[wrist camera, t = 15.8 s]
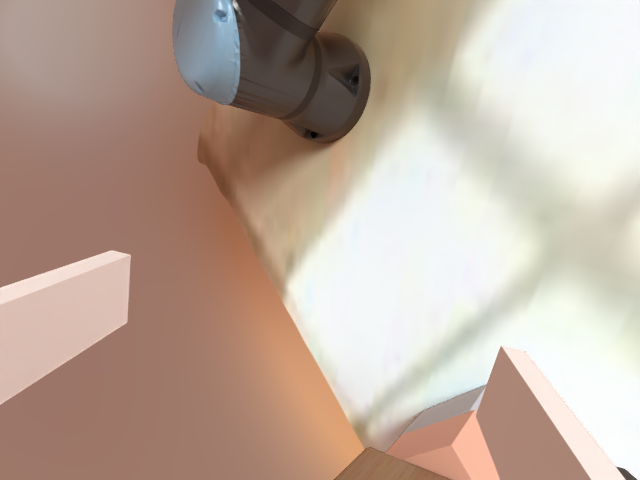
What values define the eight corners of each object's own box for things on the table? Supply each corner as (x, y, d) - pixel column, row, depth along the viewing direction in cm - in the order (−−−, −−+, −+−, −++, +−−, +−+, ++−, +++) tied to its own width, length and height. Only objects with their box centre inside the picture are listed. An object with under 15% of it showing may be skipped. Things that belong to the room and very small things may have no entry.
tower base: (423, 410, 46) (399, 436, 41) (488, 383, 41) (470, 409, 35) (470, 488, 43) (450, 528, 37) (547, 470, 37) (537, 514, 32)
